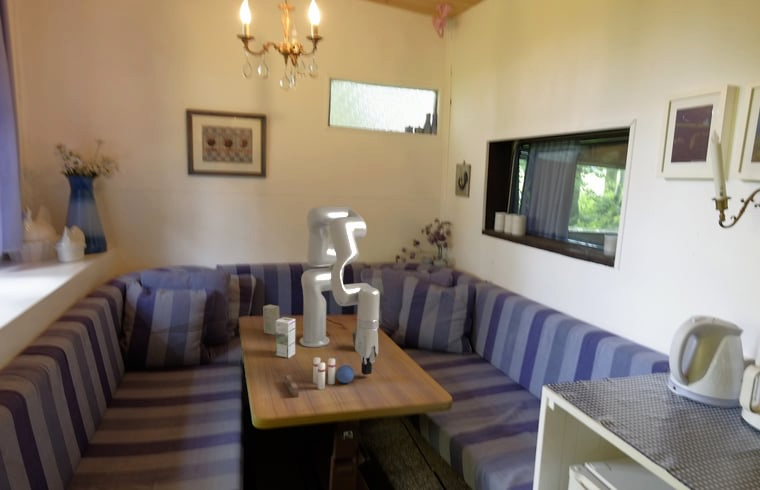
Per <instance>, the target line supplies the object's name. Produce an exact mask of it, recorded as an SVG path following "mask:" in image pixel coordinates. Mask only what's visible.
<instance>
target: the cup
mask: <svg viewBox="0 0 760 490" xmlns="http://www.w3.org/2000/svg"><path fill="white" fill-rule="evenodd" d="M356 331H357V328H355V329H352V331H351V333H352V343H353V344H354V346H355V342H356Z"/></svg>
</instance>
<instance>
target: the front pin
mask: <svg viewBox="0 0 760 490" xmlns="http://www.w3.org/2000/svg"><path fill="white" fill-rule="evenodd" d="M327 359H328V360H327V361H328V362H327V363H328V364H327V366H328V368H327V370H328V371H327V384H328V385H335V384H336V358H334V357H330V358H327Z"/></svg>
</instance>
